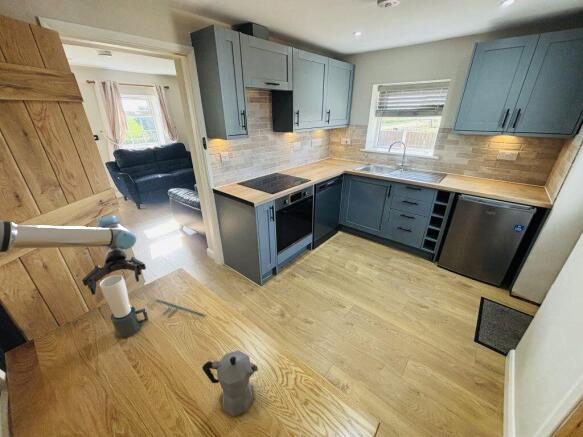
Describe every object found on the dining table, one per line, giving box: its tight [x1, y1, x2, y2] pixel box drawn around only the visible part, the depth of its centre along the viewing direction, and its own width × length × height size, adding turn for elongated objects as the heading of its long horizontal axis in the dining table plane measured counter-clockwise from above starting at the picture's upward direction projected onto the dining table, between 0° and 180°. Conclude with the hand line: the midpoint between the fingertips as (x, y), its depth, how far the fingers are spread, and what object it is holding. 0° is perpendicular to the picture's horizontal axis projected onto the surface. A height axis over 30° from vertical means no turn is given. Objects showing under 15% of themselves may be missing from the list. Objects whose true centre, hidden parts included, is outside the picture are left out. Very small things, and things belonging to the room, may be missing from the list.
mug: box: [110, 305, 149, 339], centre depth 90 cm, size 11×8×9 cm
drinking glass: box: [99, 274, 131, 318], centre depth 85 cm, size 7×7×15 cm
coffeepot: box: [202, 350, 259, 417], centre depth 67 cm, size 15×9×18 cm, turn 86°
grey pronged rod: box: [156, 299, 204, 318], centre depth 99 cm, size 1×25×5 cm
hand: (115, 285), depth 88 cm, fingers open, 13 cm apart
